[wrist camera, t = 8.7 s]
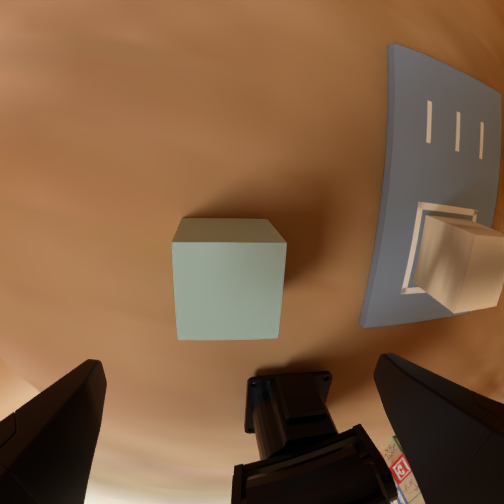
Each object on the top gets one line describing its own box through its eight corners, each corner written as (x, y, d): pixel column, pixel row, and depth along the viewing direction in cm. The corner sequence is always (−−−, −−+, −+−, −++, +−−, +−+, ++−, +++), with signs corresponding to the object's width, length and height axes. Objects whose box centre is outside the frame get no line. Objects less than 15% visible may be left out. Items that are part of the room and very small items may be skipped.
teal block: (262, 294, 20) (278, 338, 15) (184, 295, 19) (177, 340, 14) (267, 218, 18) (287, 242, 14) (182, 217, 18) (172, 242, 13)
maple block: (456, 279, 21) (496, 306, 16) (412, 282, 20) (453, 313, 15) (469, 220, 19) (515, 238, 15) (425, 214, 19) (475, 234, 14)
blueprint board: (464, 309, 23) (469, 313, 22) (359, 322, 22) (363, 328, 21) (494, 94, 17) (501, 93, 16) (387, 45, 15) (393, 42, 15)
